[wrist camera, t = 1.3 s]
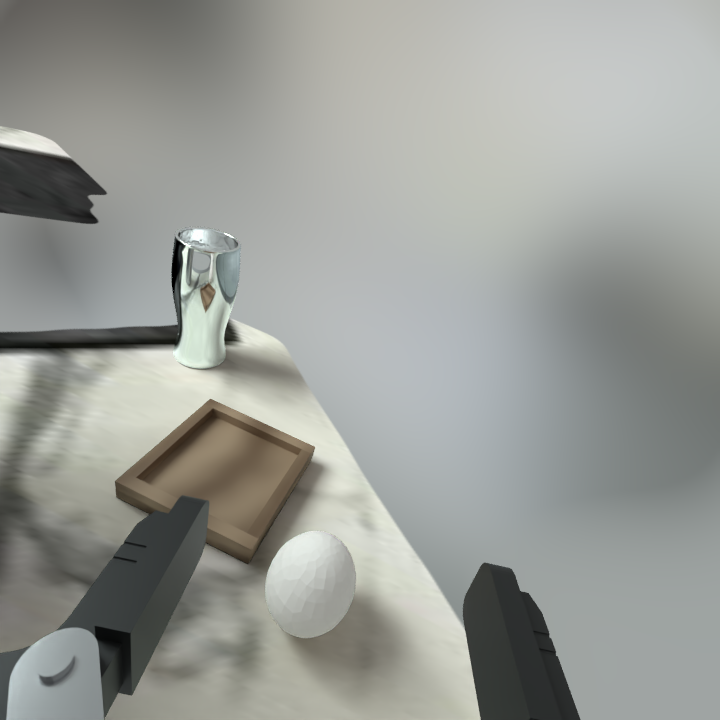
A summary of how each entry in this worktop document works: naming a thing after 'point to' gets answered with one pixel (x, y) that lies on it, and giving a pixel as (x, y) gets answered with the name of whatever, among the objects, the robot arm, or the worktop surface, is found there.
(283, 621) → the egg
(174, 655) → the worktop surface
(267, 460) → the walnut tray
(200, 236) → the beer glass
